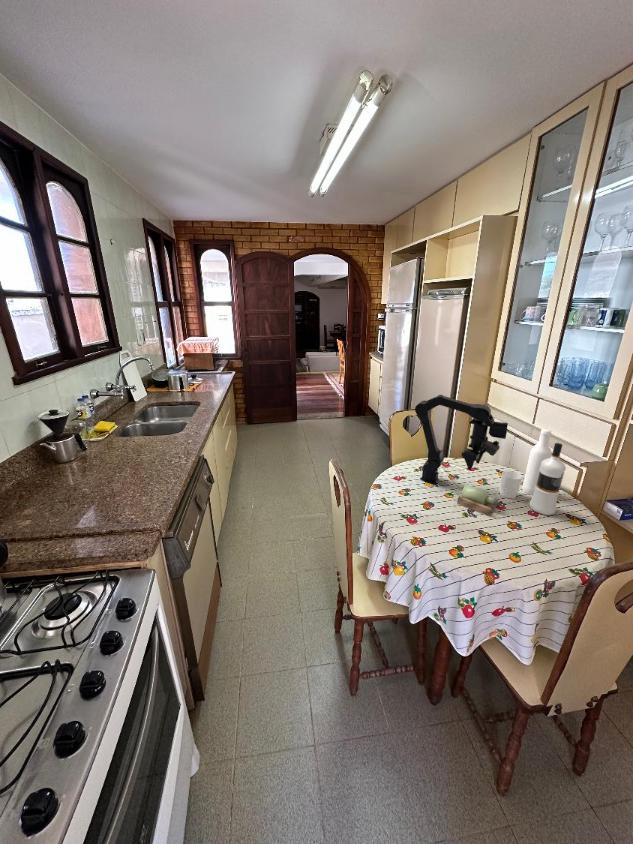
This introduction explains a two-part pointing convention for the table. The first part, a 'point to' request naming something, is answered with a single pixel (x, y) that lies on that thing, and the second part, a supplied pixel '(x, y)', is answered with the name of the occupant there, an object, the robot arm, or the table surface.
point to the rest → (477, 505)
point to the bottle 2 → (536, 461)
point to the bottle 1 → (477, 495)
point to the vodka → (548, 483)
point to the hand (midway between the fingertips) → (473, 466)
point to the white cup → (510, 484)
